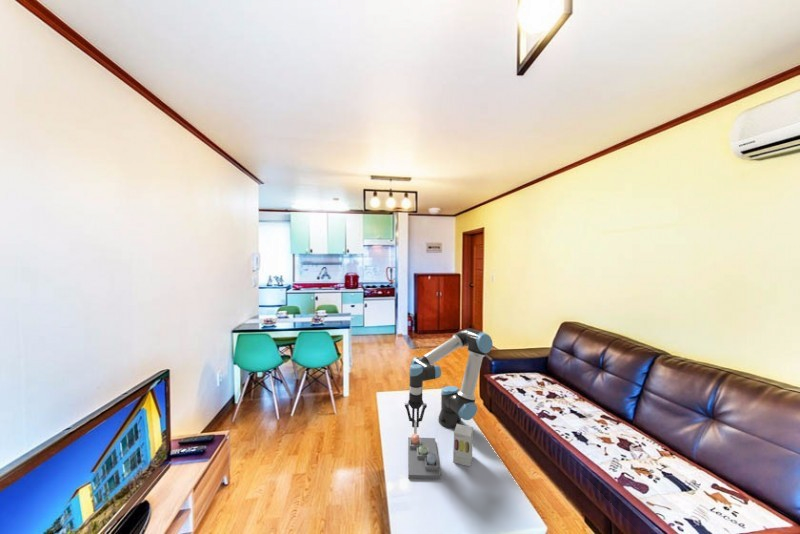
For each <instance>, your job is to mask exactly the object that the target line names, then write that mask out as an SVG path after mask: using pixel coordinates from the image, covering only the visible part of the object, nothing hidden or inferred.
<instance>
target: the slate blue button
mask: <svg viewBox="0 0 800 534" xmlns="http://www.w3.org/2000/svg"><path fill="white" fill-rule="evenodd" d="M427 463H428V464H429V465H434V464H435V463H436V455H435V454H434V453H428V454H427Z"/></svg>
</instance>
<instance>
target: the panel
mask: <svg viewBox="0 0 800 534" xmlns="http://www.w3.org/2000/svg"><path fill="white" fill-rule="evenodd" d="M407 441H408V442H407V443H408V444H407V447H408V448H407V450H408V451H407V453H408V455H407V456H408V457H407V460H408V465H407V466H408V468H407V469H408V470H407V471H408V472H407V473H408V475H407V476H408V479H409V480H410V479H414V480H418V479H419V480H441V471H440V465H439V456H438V451H437V444H436V443H437V442H436V438H435V437H419V444H417V445H414V444H412V443H411V437H408V439H407ZM421 445H424V446H426V447H427V454H428V453H434V454H435V455H436V463H435V464H434V465H429V464H428V463H427V455H419V446H421Z"/></svg>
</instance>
